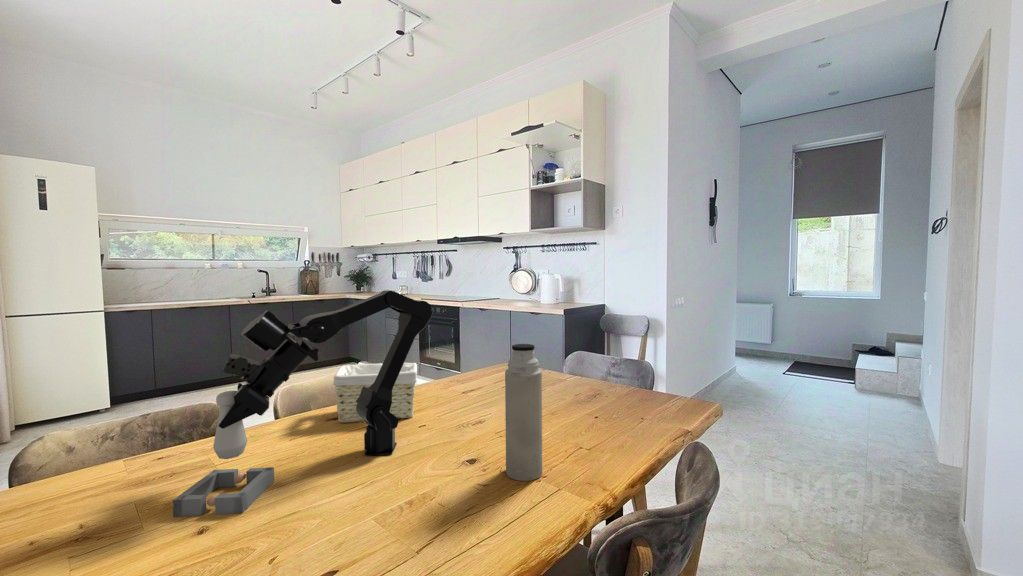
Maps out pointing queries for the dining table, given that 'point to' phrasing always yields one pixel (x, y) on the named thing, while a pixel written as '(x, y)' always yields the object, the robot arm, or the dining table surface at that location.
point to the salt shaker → (228, 430)
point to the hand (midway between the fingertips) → (221, 424)
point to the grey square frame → (224, 503)
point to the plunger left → (212, 500)
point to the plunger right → (240, 477)
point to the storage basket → (364, 375)
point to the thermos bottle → (523, 414)
